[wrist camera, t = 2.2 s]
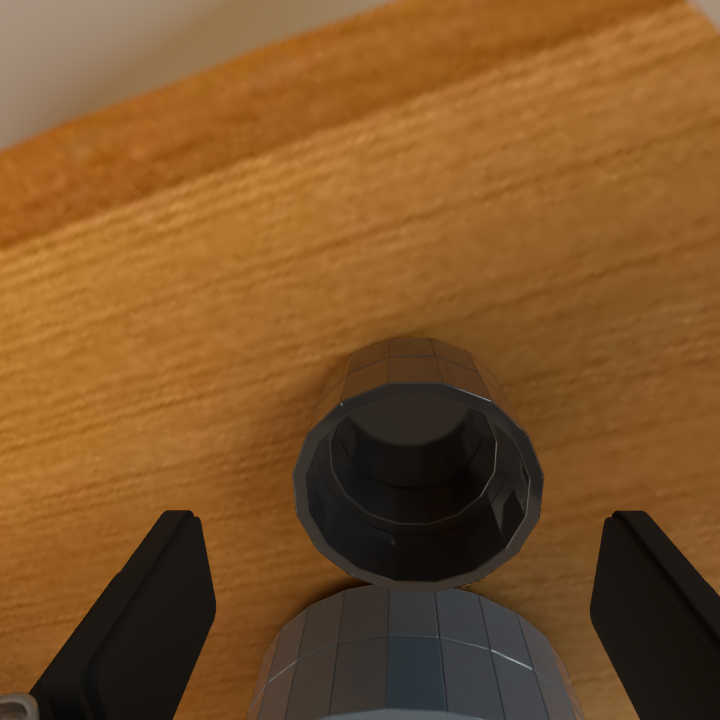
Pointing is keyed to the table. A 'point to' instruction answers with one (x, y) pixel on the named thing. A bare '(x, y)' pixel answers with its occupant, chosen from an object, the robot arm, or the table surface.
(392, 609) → the blue bowl
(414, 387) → the black bowl
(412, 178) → the table surface
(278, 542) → the table surface
